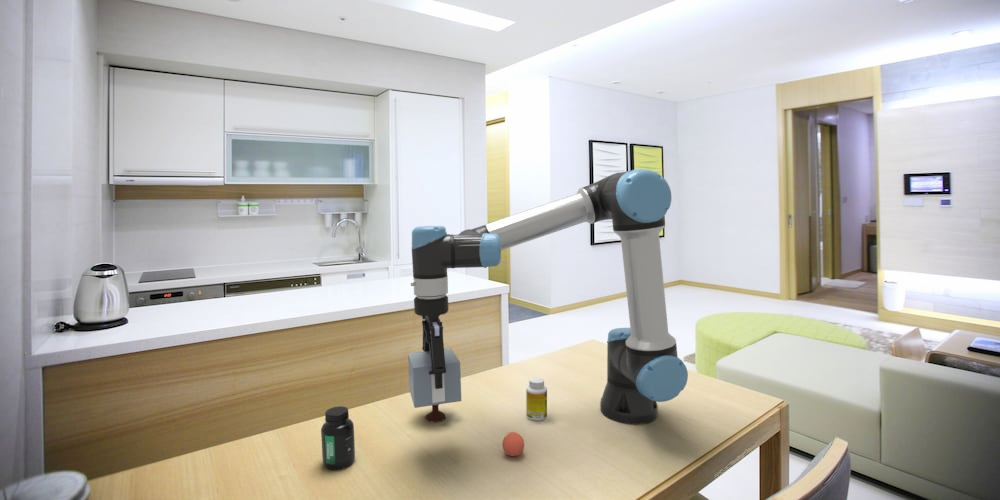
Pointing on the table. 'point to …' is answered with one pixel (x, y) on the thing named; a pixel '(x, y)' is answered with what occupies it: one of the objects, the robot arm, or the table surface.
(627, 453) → the table surface
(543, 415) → the supplement bottle
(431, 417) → the ice cream bowl
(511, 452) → the ball
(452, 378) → the block
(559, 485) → the table surface
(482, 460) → the table surface
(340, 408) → the supplement bottle
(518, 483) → the table surface
